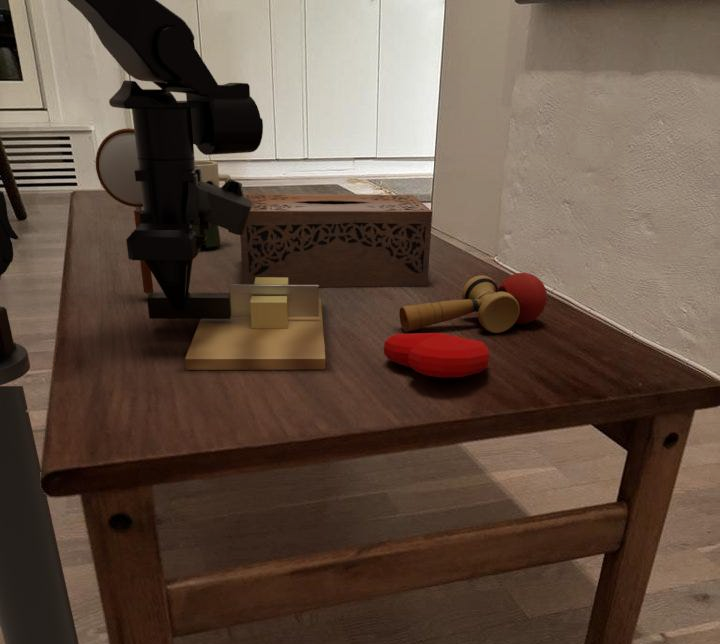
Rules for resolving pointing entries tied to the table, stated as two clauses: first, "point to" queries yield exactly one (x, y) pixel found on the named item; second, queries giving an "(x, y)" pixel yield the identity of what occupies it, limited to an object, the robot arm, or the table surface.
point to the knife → (236, 302)
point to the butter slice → (269, 312)
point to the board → (258, 345)
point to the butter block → (271, 281)
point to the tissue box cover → (337, 239)
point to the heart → (438, 354)
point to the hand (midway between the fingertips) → (180, 307)
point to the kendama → (484, 304)
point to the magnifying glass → (123, 180)
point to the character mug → (211, 177)
